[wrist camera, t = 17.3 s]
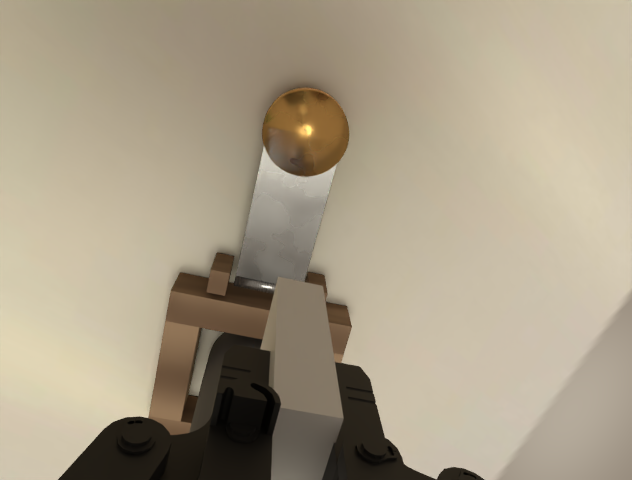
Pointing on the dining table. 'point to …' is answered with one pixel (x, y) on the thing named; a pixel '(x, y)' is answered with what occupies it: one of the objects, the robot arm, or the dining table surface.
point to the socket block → (220, 315)
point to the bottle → (216, 375)
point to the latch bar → (291, 187)
